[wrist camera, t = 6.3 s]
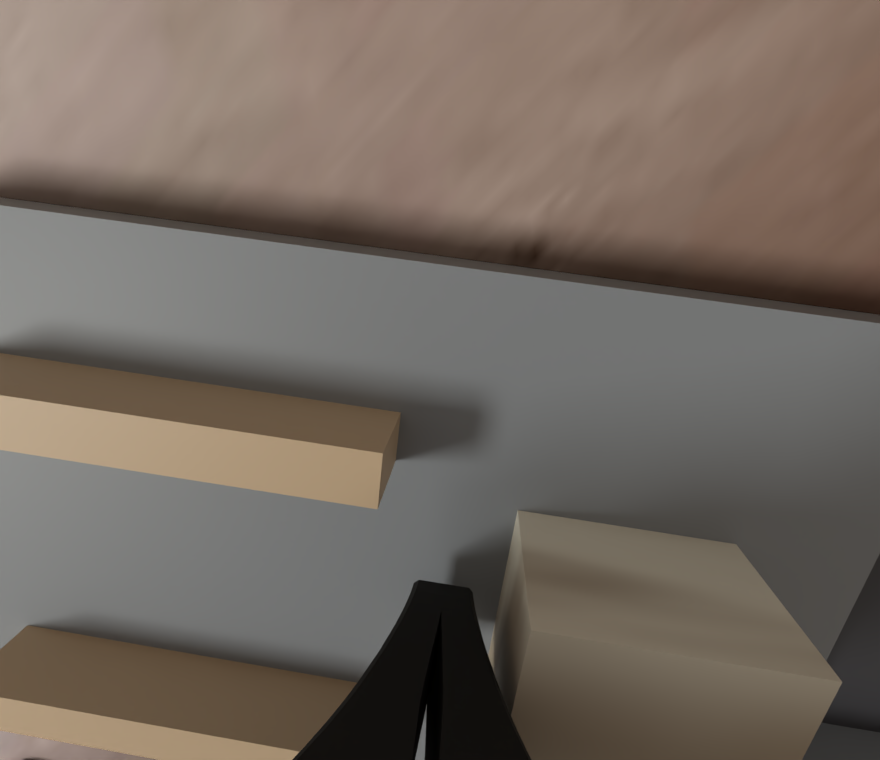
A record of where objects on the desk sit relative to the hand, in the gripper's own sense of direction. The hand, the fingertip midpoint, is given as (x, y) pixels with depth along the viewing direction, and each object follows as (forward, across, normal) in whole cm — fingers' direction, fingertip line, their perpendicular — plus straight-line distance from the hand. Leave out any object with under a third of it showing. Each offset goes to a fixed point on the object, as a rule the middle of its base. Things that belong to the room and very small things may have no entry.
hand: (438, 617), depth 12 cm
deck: (+3, -3, 0) cm, 4 cm away
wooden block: (+1, -4, 0) cm, 4 cm away
